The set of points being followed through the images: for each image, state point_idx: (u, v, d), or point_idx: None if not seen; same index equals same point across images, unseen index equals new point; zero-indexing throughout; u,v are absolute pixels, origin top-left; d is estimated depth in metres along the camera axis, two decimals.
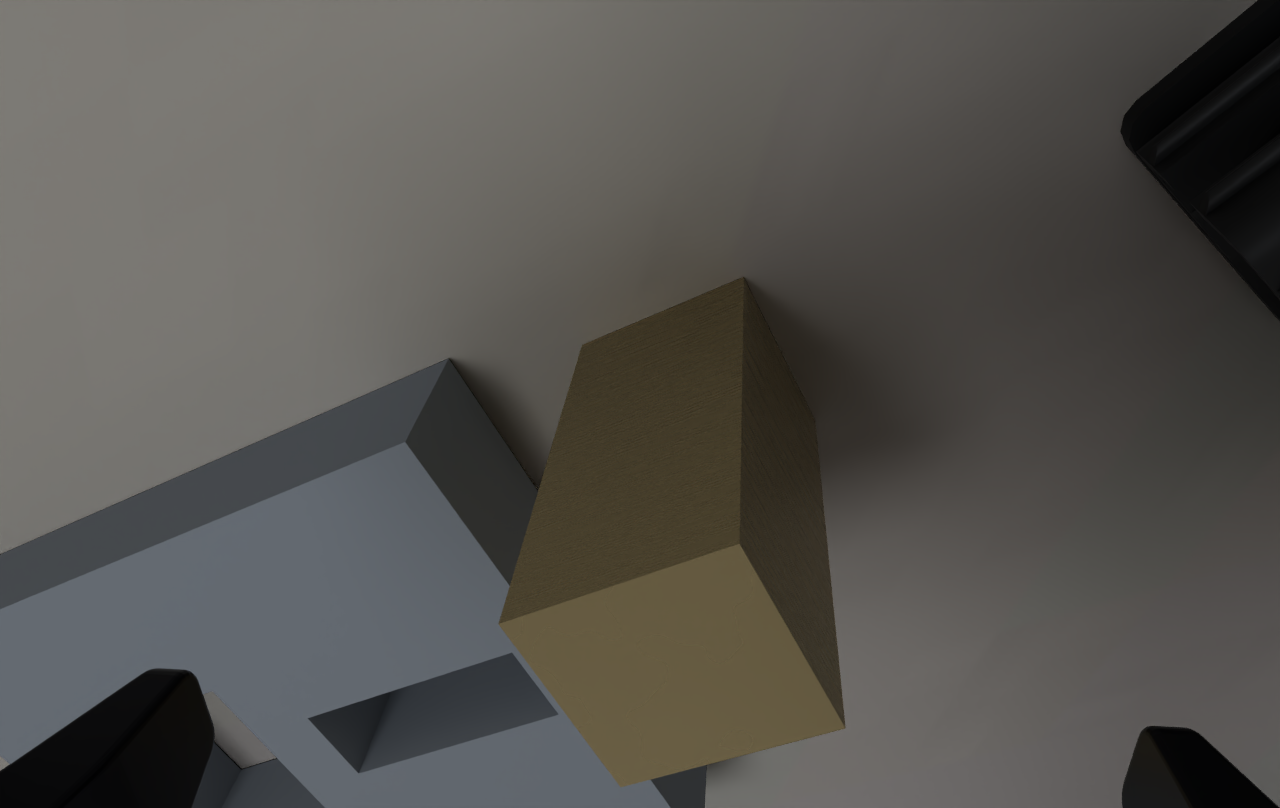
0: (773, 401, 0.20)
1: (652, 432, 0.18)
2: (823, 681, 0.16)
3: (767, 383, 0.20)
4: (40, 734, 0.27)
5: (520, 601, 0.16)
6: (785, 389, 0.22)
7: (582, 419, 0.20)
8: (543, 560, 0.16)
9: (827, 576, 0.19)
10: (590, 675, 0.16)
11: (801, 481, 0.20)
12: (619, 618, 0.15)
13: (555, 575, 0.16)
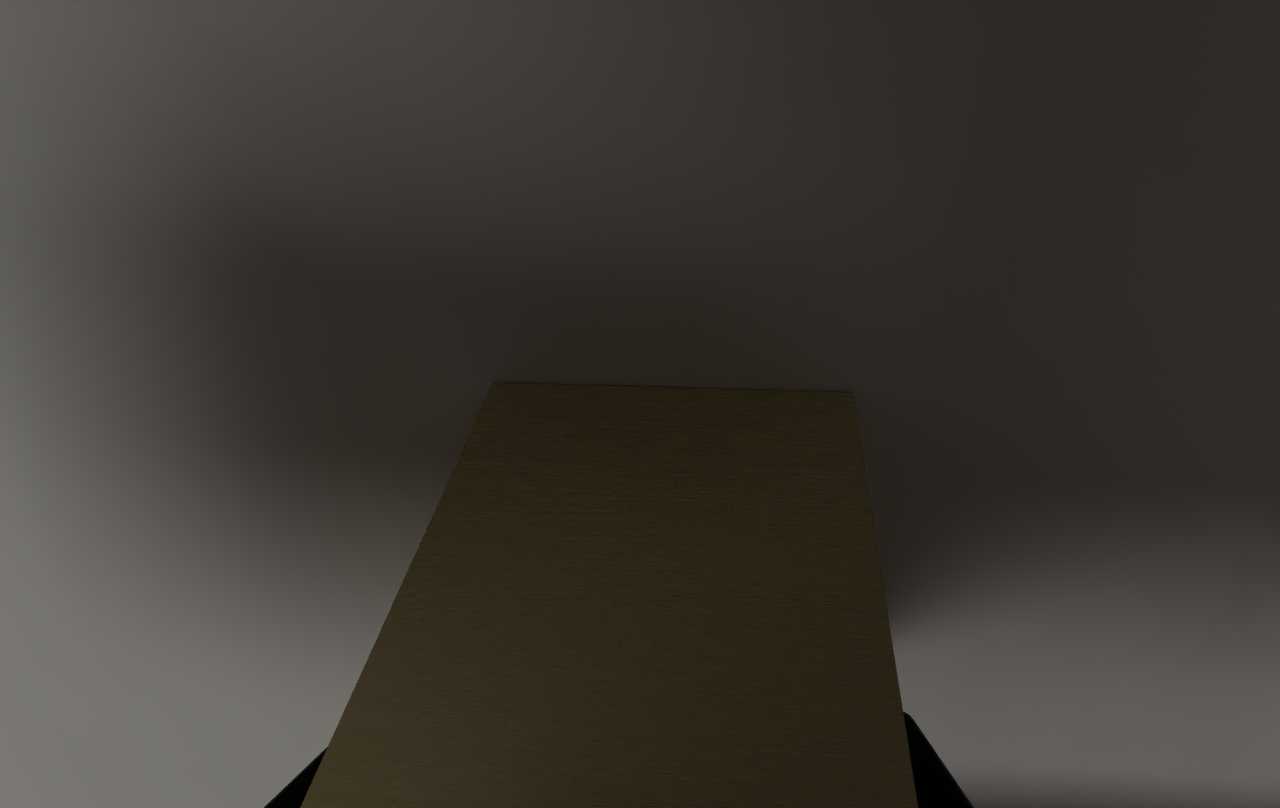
0: (583, 554, 0.09)
1: None
2: None
3: (556, 534, 0.09)
4: None
5: None
6: (675, 458, 0.10)
7: None
8: None
9: None
10: None
11: (732, 645, 0.08)
12: None
13: None
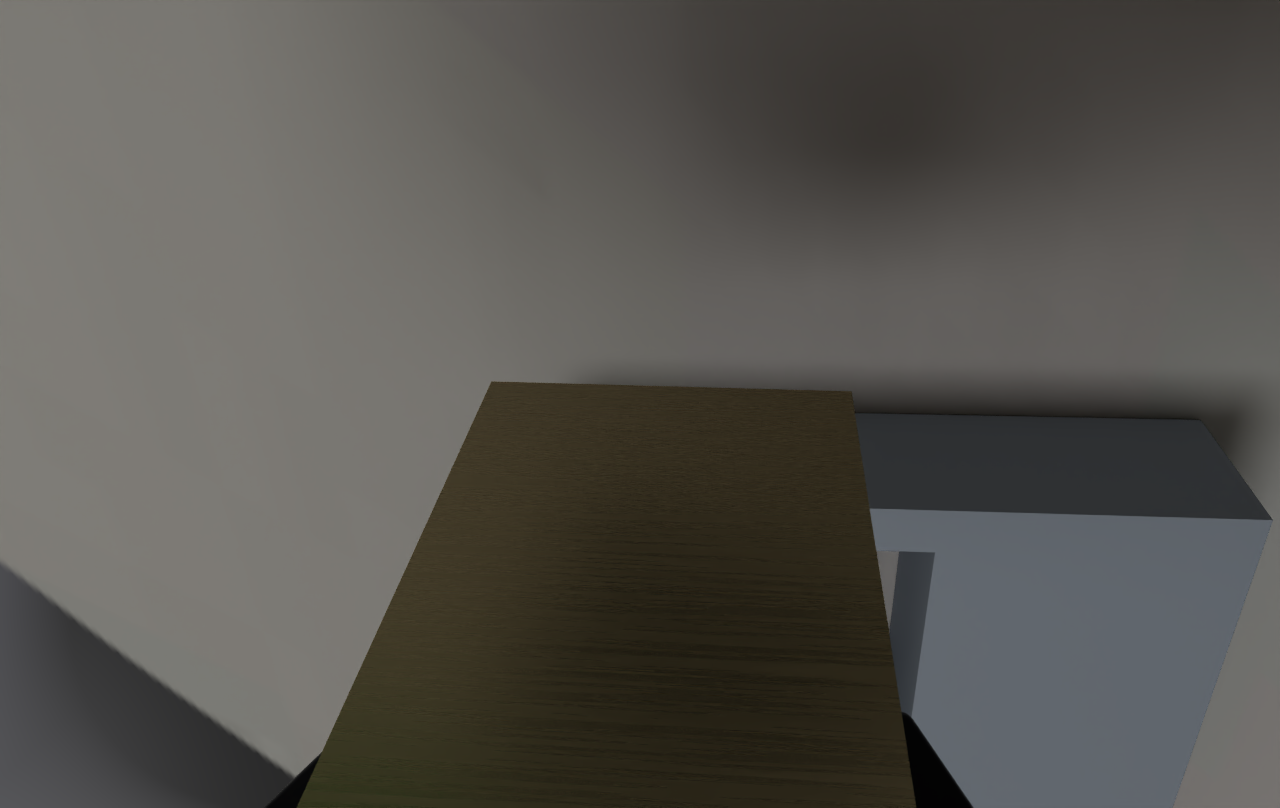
0: (581, 552, 0.09)
1: None
2: None
3: (554, 532, 0.09)
4: None
5: None
6: (674, 457, 0.10)
7: None
8: None
9: None
10: None
11: (730, 643, 0.08)
12: None
13: None
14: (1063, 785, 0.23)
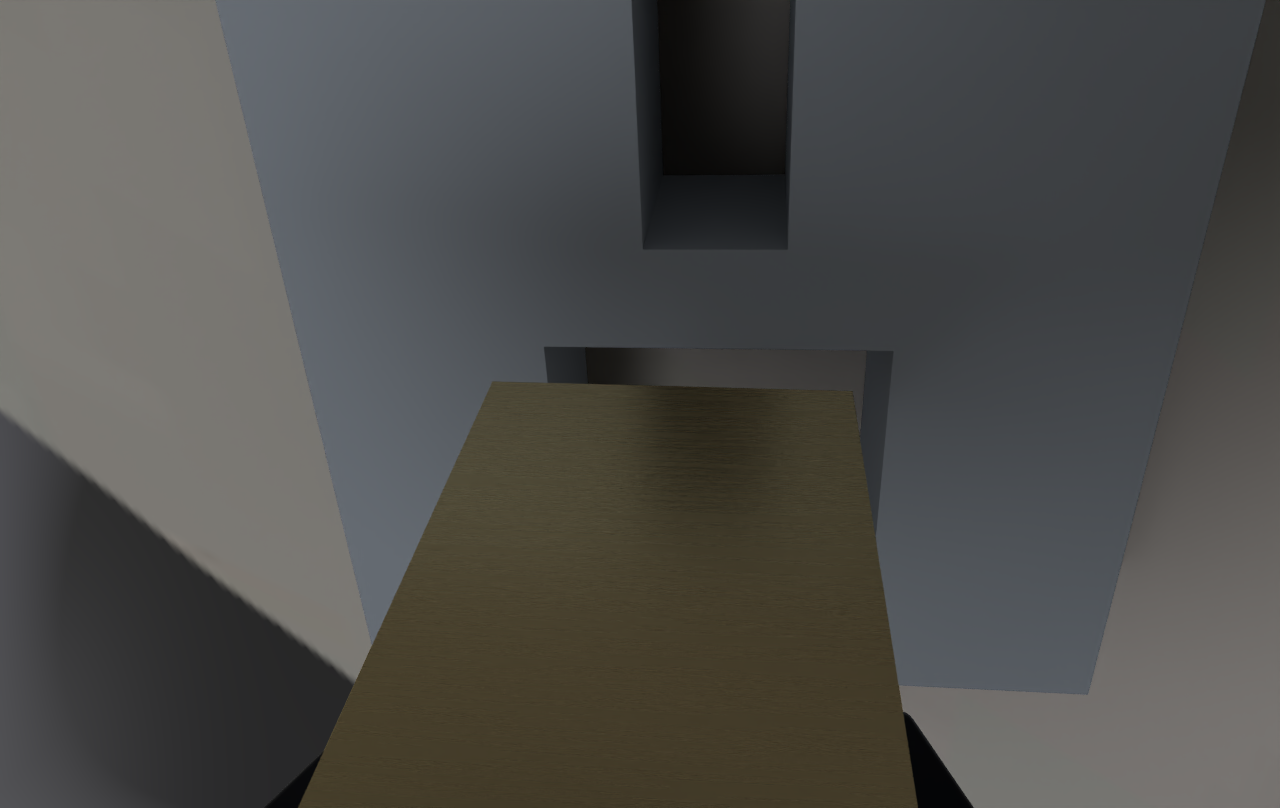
0: (583, 552, 0.09)
1: None
2: None
3: (556, 532, 0.09)
4: None
5: None
6: (675, 456, 0.10)
7: None
8: None
9: None
10: None
11: (732, 643, 0.08)
12: None
13: None
14: (1023, 275, 0.15)
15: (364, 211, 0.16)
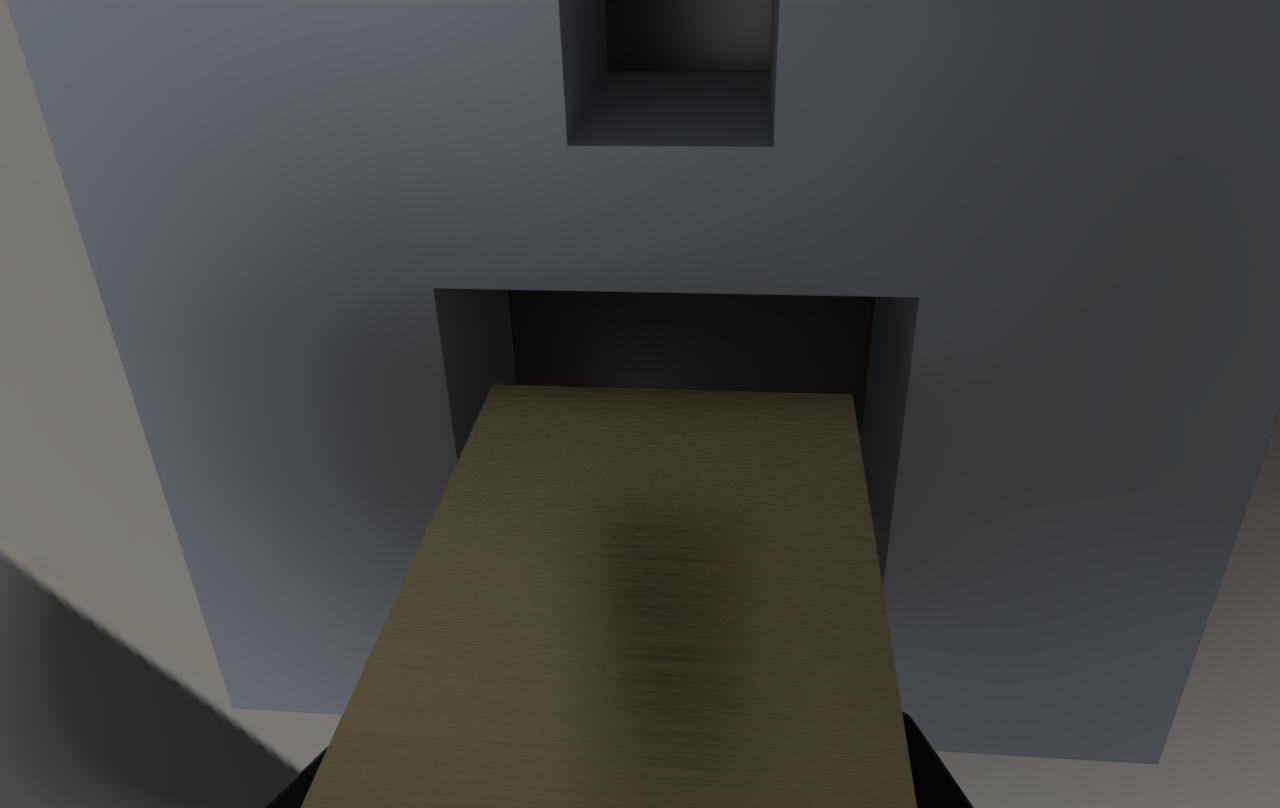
0: (583, 556, 0.09)
1: None
2: None
3: (556, 536, 0.09)
4: None
5: None
6: (675, 460, 0.10)
7: None
8: None
9: None
10: None
11: (731, 647, 0.08)
12: None
13: None
14: (1108, 186, 0.11)
15: (171, 86, 0.11)
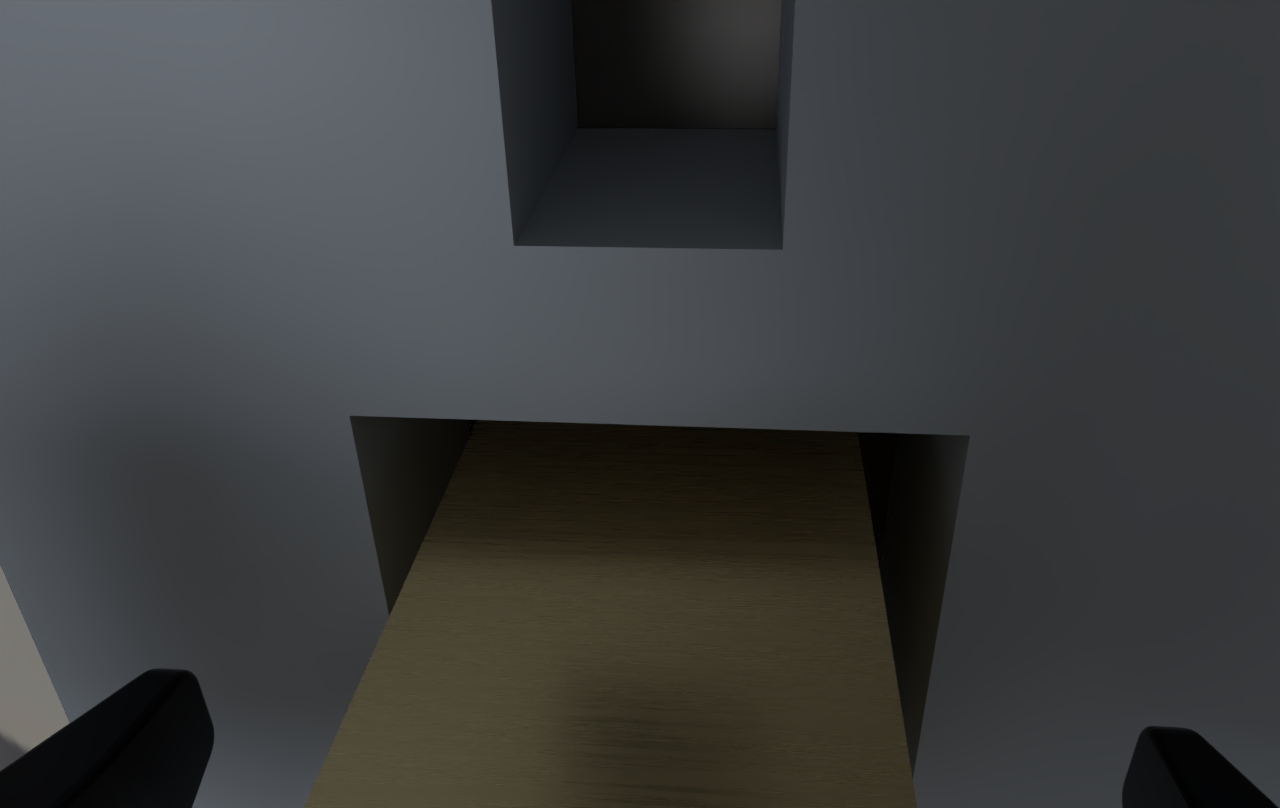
0: (605, 462, 0.10)
1: None
2: None
3: (581, 447, 0.10)
4: None
5: None
6: None
7: None
8: None
9: (868, 672, 0.08)
10: None
11: (735, 529, 0.09)
12: None
13: None
14: (1224, 304, 0.08)
15: None
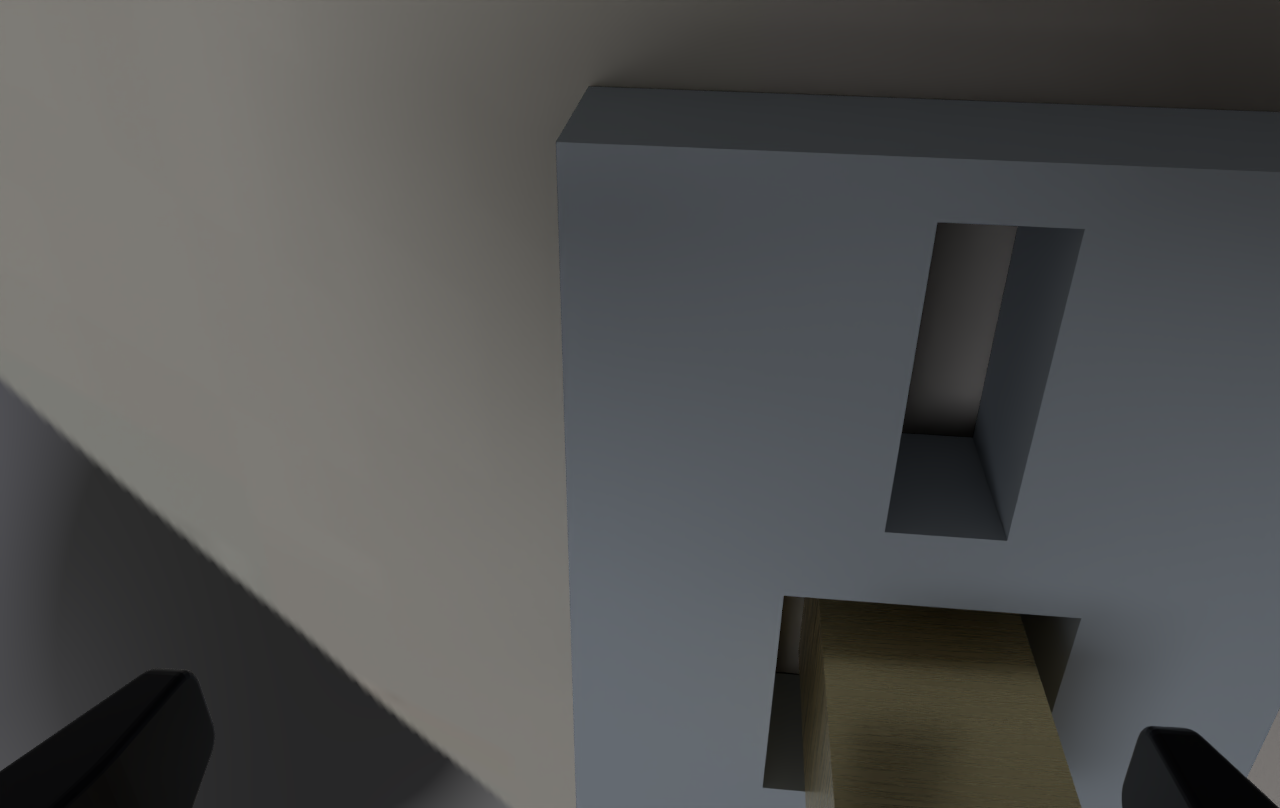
0: (893, 614, 0.20)
1: (817, 752, 0.20)
2: None
3: (878, 605, 0.21)
4: (742, 785, 0.23)
5: None
6: None
7: (806, 748, 0.22)
8: None
9: (1045, 728, 0.18)
10: None
11: (969, 656, 0.20)
12: None
13: None
14: (1199, 572, 0.18)
15: (651, 488, 0.19)
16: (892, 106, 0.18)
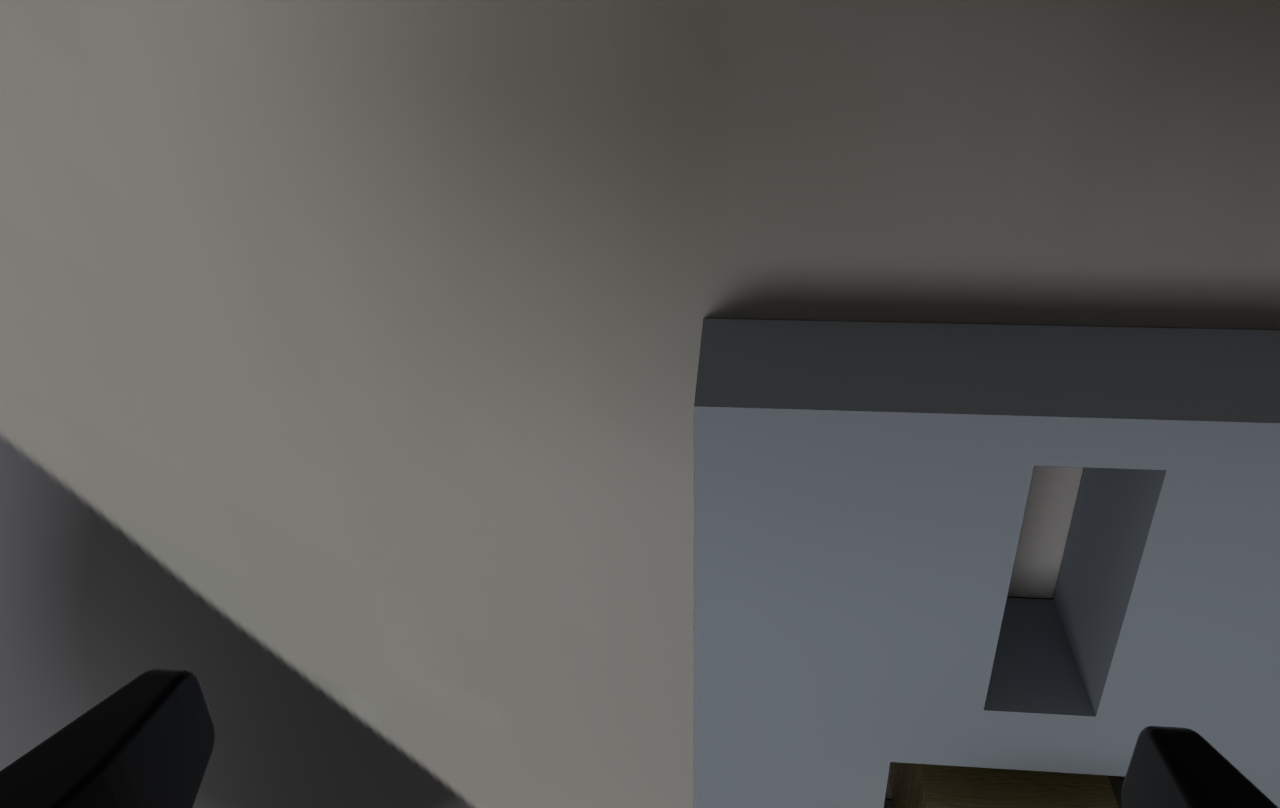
0: (988, 771, 0.22)
1: None
2: None
3: None
4: None
5: None
6: None
7: None
8: None
9: None
10: None
11: None
12: None
13: None
14: (1272, 741, 0.20)
15: (771, 676, 0.21)
16: (981, 337, 0.20)
